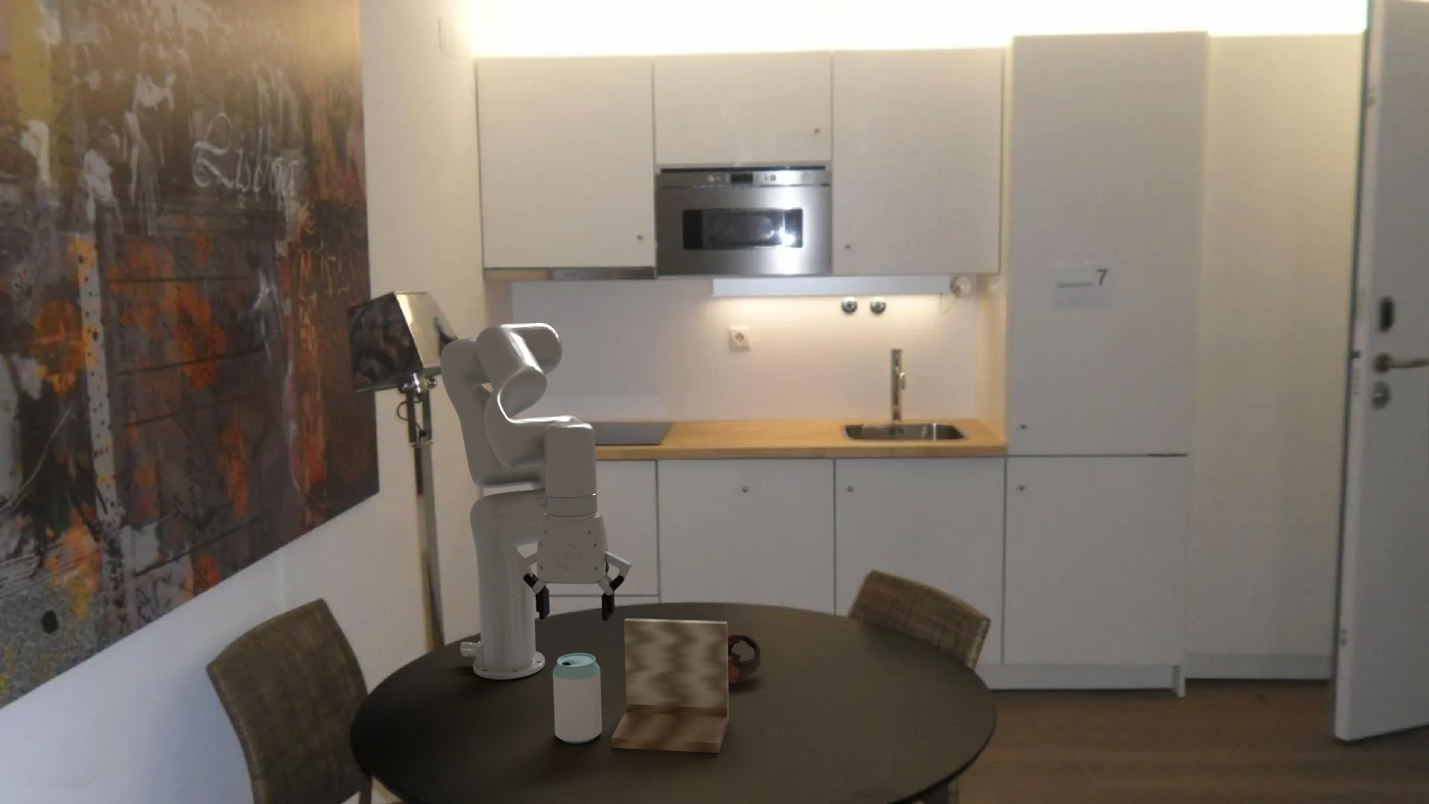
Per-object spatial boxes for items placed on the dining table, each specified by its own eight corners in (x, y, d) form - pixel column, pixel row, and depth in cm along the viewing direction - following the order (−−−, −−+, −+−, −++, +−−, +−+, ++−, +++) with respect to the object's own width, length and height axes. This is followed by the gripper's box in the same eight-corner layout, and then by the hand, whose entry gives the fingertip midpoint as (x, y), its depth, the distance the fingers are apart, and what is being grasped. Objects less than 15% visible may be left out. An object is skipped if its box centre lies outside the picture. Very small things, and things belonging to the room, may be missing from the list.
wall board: (611, 747, 154) (608, 642, 152) (628, 716, 165) (625, 618, 163) (718, 752, 152) (717, 646, 150) (728, 720, 163) (727, 621, 161)
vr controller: (753, 664, 188) (765, 633, 183) (751, 705, 180) (764, 674, 175) (688, 649, 187) (699, 618, 183) (683, 690, 179) (694, 658, 175)
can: (589, 748, 154) (587, 669, 153) (547, 742, 156) (544, 665, 155) (609, 728, 161) (607, 653, 159) (568, 723, 163) (565, 649, 161)
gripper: (507, 510, 152) (511, 624, 154) (623, 511, 149) (626, 627, 151) (523, 499, 159) (527, 608, 161) (634, 500, 157) (637, 611, 159)
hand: (575, 617), depth 156 cm, fingers open, 9 cm apart
